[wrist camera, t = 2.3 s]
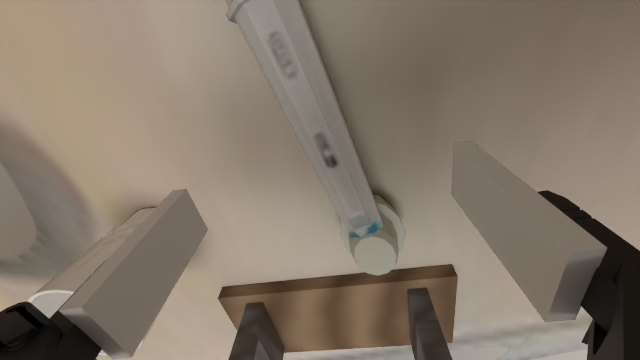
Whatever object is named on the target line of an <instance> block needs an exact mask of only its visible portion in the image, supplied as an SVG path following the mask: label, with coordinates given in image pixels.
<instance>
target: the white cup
mask: <svg viewBox="0 0 640 360" xmlns="http://www.w3.org/2000/svg"><path fill="white" fill-rule="evenodd" d="M155 209H156V208H146V209H140V210H139V211H137V212H136V213H134V214H133V215H132V216H130V217H129V218H128V219H127V220H126V221H124V222H123V223H122V224H121V225H120V226H118V227H116V228H114V229H113V230H111V231H110V232H109V233H108V234H107V235H106V236H104V237H103V238H101V239H100V240H99V241H98V242H96V243H95V244H94V245H93V246H91V247H90V248H89V249H88V250H87V251H85V252H84V253H83V254H82V255H81V256H79V257H78V258H77V259H76V260H75V261H73V262H72V263H71V264H70V265H69V266H67V267H66V268H65V269H64V270H63V271H61V272H60V273H59V274H58V275H57V276H55V277H54V278H53V279H52V280H50V281H49V282H48V283H47V284H46V285H44V286H43V287H42V288H41V289H40V290H38V291H37V292H36V293H35V294H34V295H32V296H31V297H30V298H29V299H28V301H27V302H30V303H32V304H33V305H34V306H35V307H36V308H37V309H39V310H40V311H41V312H42V313H43V314H44V315H46V316H47V317H48V318H50V317H51V316H52V315H53V314H54V313H55V312H56V311H57V310H58V309H59V308H60V307H61V306H62V305H63V304H64V303H65V302H66V301H67V300H68V299H69V298H70V296H71V295H72V294H73V293H74V292H75V291H76V290H77V289H78V288H79V287H80V286H81V285H82V284H84V283H85V281H86V280H87V279H88V278H89V277H90V276H91V275H93V274H94V273H93V272H94V271H95V270H96V269H97V268H98V267H99V266H100V265H101V264H102V263H103V262H104V261H106V260H107V259H108V258H109V257H110V256H111V255H112V254H113V253H114V252H115V251H116V250H117V248H118V247H119V246H120V245H121V244H122V243H123V242H124V241H125V240H126V239H127V238H128V237H129V236H130V235H131V234H132V233H133V232H134V231H135V230H136V229H137V228H138V226H139V225H140V224H141V223H142V222H143V221H144V220H145V219H146V218H147V217H148V216H149V215H150V214H151V213H152V212H153V211H154V210H155ZM170 293H171V292H170ZM167 298H168V297H167ZM166 300H167V299H166ZM165 302H166V301H165ZM165 302H164V303H165ZM163 305H164V304H163ZM162 307H163V306H162ZM161 309H162V308H161ZM161 309H160V311H161ZM160 311H159V312H160ZM158 314H159V313H158ZM158 314H157V316H158ZM157 316H156V318H157ZM156 318H155V319H156ZM155 319H154V321H155ZM154 321H153V323H154ZM153 323H152V324H151V326H150V328H149V329H148V331H147V333H146V334H145V336H144V338H143V339H142V341H141V343H140V344H139V346H138V348H140V346H141V345H142V343H143V341H144V339H145V338H146V336H147V334H148V332H149V330H150V329H151V327H152V325H153ZM138 348H137V349H138ZM137 349H136V350H137ZM98 355H106V356H108V355H107V354H106V353H105V352H104V351H103V350H101V351H100V353H99V354H98Z"/></svg>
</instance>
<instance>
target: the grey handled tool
mask: <svg viewBox="0 0 640 360" xmlns="http://www.w3.org/2000/svg"><path fill="white" fill-rule="evenodd" d="M226 2H227V4H228V6H229V9H228V11H227V13H226V16H227V18H228V20H229V21H231V22H234V23H237V24H238V26H239V28H240V29H241V31H242V33H243V35H244V37H245V39H246V41H247V43H248V45H249V46H250V48H251V50H252V52H253V54H254V56H255V58H256V60H257V62H258V63H259V65H260V67H261V69H262V71H263V73H264V75H265V77H266V79H267V80H268V82H269V84H270V86H271V88H272V90H273V92H274V94H275V96H276V97H277V99H278V101H279V103H280V105H281V107H282V109H283V111H284V113H285V114H286V116H287V118H288V120H289V122H290V124H291V126H292V128H293V130H294V131H295V133H296V135H297V137H298V139H299V141H300V143H301V145H302V147H303V148H304V150H305V152H306V154H307V156H308V158H309V160H310V162H311V164H312V165H313V167H314V169H315V171H316V173H317V175H318V177H319V179H320V181H321V182H322V184H323V186H324V188H325V190H326V192H327V194H328V196H329V198H330V199H331V201H332V203H333V205H334V207H335V209H336V211H337V213H338V215H339V217H340V218H341V231H340V236H341V238H342V240H343V242H344V244H345V246H346V248H347V250H348V251H349V252H351V254H352V256H353V258H354V260H355V262H356V264H357V265H358V266H359V267H360V268H361V269H362V270H364V271H365V272H366V273H368V274H373V275H377V276H379V275H382V274H386V273H389V272H390V270H391V269H392V268H393V267H394V266H395V265H396V263H397V258H398V253H399V252H400V251H401V250H402V248H403V242H404V237H405V231H404V228H403V226H402V223H401V220H400V218H399V215H398V213H397V212H396V211H395V210H394V209H392V206H391V204H388V203H387V202H386V201H385V200H384V199H383V198H381V197H380V196H379V195H373V194H372V191H371V188H370V186H369V183H368V180H367V178H366V175H365V172H364V170H363V167H362V164H361V162H360V159H359V156H358V154H357V151H356V148H355V146H354V143H353V141H352V138H351V135H350V133H349V130H348V127H347V125H346V122H345V119H344V117H343V114H342V111H341V109H340V106H339V103H338V101H337V98H336V96H335V93H334V90H333V88H332V85H331V82H330V80H329V77H328V74H327V72H326V69H325V66H324V64H323V61H322V58H321V56H320V53H319V50H318V48H317V45H316V43H315V40H314V37H313V35H312V32H311V29H310V27H309V24H308V21H307V19H306V16H305V13H304V11H303V8H302V5H301V3H300V0H226Z"/></svg>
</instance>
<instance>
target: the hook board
mask: <svg viewBox="0 0 640 360" xmlns="http://www.w3.org/2000/svg"><path fill="white" fill-rule="evenodd" d="M457 277H458V276H457V274H456V272H455V270H454V268H453V266H452V265H442V266H432V267H422V268H412V269H402V270H392V271H390V272H389V273H386V274H382V275H379V276H377V275H373V274H368V273H361V274H351V275H341V276H331V277H321V278H311V279H301V280H291V281H281V282H271V283H260V284H250V285H240V286H230V287H223V288H222V290H221V292H220V295H219V297H218V299H219V301H220V303H221V304H222V306H223V308H224V309H225V311H226V313H227V314H228V316H229V318H230V319H231V321H232V323H233V324H234V326H235V328H236V329H237V331H238V332H237V335H236V338H235V341H234V344H233V347H232V351H231V354H230V357H229V360H283V354H284V353H286V352H303V351H319V350H336V349H353V348H369V347H386V346H403V345H412V349H413V354H414V358H415V360H452V357H451V355H450V352H449V349H448V346H447V343H452V340H453V327H454V315H455V302H456V290H457Z"/></svg>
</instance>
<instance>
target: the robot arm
mask: <svg viewBox="0 0 640 360" xmlns="http://www.w3.org/2000/svg"><path fill="white" fill-rule="evenodd" d="M451 195H452V196H453V197H454V199H455V200H456V201H457V203H458V204H459V205H460V207H461V208H462V209H463V211H464V212H465V214H466V215H467V216H468V218H469V219H470V220H471V222H472V223H473V224H474V226H475V227H476V228H477V230H478V231H479V233H480V234H481V235H482V237H483V238H484V239H485V241H486V242H487V243H488V245H489V246H490V248H491V249H492V250H493V252H494V253H495V254H496V256H497V257H498V258H499V260H500V261H501V262H502V264H503V265H504V267H505V268H506V269H507V271H508V272H509V273H510V275H511V276H512V277H513V279H514V280H515V282H516V283H517V284H518V286H519V287H520V288H521V290H522V291H523V292H524V294H525V295H526V296H527V298H528V299H529V301H530V302H531V303H532V305H533V306H534V307H535V309H536V310H537V311H538V313H539V314H540V315H541V317H542V318H543V320H544V321H545V322H553V321H564V320H575V319H576V316H577V314H578V312H579V310H580V308H581V306H582V307H583V308H584V309H585V310H586V312H587V313H588V314H589V315H590V316H591V317H592V318H593V320H592V322H591V324H590V326H589V328H588V330H587V332H586V334H585V336H584V338H583V340H582V343H585V344H588V354H587V360H640V251H639V250H638V249H636V248H635V247H633V246H632V245H631V244H629V243H628V242H626V241H625V240H624V239H622V238H621V237H620V236H618V235H617V234H615V233H614V232H613V231H611V230H610V229H608V228H607V227H606V226H604V225H603V224H601V223H600V222H599V221H597V220H596V219H592V218H591V216H590V215H589V214H588V213H586V212H585V211H583V210H580V208H579V207H578V206H576V205H575V204H574V203H572V202H571V201H569V200H568V199H567V198H565V197H562V196H560V195H557V194H555V193H553V192H550V191H541V192H536V191H535V190H534V189H532V188H531V187H530V186H528V185H527V184H526V183H525V182H523V181H522V180H521V179H520V178H518V177H517V176H516V175H515V174H513V173H512V172H511V171H510V170H508V169H507V168H506V167H504V166H503V165H502V164H501V163H499V162H498V161H497V160H496V159H494V158H493V157H492V156H491V155H489V154H488V153H487V152H486V151H484V150H483V149H482V148H480V147H479V146H478V145H477V144H475V143H474V142H473V141H467V142H461V143H455V144H454V152H453V171H452V190H451ZM207 230H208V229H207V227H206V225H205V223H204V221H203V219H202V217H201V216H200V214H199V212H198V210H197V208H196V206H195V204H194V202H193V200H192V199H191V197H190V195H189V193H188V191H187V189H180V190H174V191H172V192H171V193H170V194H169V195H168V196H167V197H166V198H165V199H164V200H163V201H162V202H161V203H160V204H159V205H158V207H157V208H156V209H155V210H154V211H153V212H152V213H151V214H150V215H149V216H148V217H147V218H146V219H145V220H144V221H143V222H142V223H141V224H140V225H139V226H138V228H137V229H136V230H135V231H134V232H133V233H132V234H131V235H130V236H129V237H128V238H127V239H126V240H125V241H124V242H123V243H122V244H121V245H120V246H119V247H118V248H117V250H116V251H115V252H114V253H113V254H112V255H111V256H110V257H109V258H108V259H107V260H106V261H104V262H103V263H102V264H101V265H100V266H99V267H98V268H97V269H96V270H95V271H94V272H93V273H94V274H93V275H91V276H90V277H89V278H88V279H87V280H86V281H85V283H84V284H82V285H81V286H80V287H79V288H78V289H77V290H76V291H75V292H74V293H73V294H72V295H71V296H70V298H69V299H68V300H67V301H66V302H65V303H64V304H63V305H62V306H61V307H60V308H59V309H58V310H57V311H56V312H55V313H54V314H53V315H52V316H51V317H50V318H48V317H47V316H46V315H44V314H43V313H42V312H41V311H40V310H39V309H37V308H36V307H35V306H34V305H33V304H32V303H30V302H21V303H18V304H15V305H13V306H11V307H8V308H6V309H5V310H3V311H1V312H0V360H97V359H95V358H96V357H97V356H98V354H99V353H100V351H101V350H103V351H104V352H105V353H106V354H107V355H108V356H110V357H111V358H112V359H117V358H128V357H132V356H133V354H134V353H135V351H136V349H137V348H138V346H139V344H140V343H141V341H142V339H143V338H144V336H145V334H146V333H147V331H148V329H149V328H150V326H151V324H152V323H153V321H154V319H155V318H156V316H157V314H158V313H159V311H160V309H161V308H162V306H163V304H164V302H165V301H166V299H167V297H168V296H169V294H170V292H171V291H172V289H173V287H174V286H175V284H176V282H177V281H178V279H179V277H180V276H181V274H182V272H183V271H184V269H185V267H186V266H187V264H188V262H189V261H190V259H191V257H192V256H193V254H194V252H195V250H196V249H197V247H198V245H199V244H200V242H201V240H202V239H203V237H204V235H205V234H206V232H207Z"/></svg>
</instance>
